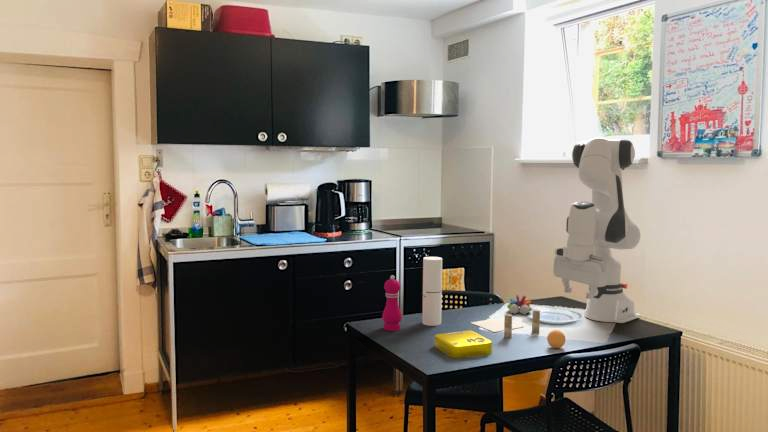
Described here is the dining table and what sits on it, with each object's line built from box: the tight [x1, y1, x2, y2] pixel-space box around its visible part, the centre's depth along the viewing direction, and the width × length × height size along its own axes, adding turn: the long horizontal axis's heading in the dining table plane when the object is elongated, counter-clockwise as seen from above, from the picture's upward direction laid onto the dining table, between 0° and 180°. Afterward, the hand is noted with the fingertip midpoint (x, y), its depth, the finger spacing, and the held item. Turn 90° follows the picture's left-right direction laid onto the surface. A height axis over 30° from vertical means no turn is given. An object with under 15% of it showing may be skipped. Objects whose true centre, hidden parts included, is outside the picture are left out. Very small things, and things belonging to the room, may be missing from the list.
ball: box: [546, 329, 567, 349], centre depth 225 cm, size 6×6×6 cm
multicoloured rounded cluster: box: [506, 294, 533, 315], centre depth 270 cm, size 8×10×7 cm
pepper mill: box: [381, 274, 403, 332], centre depth 245 cm, size 7×7×20 cm
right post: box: [531, 309, 541, 334], centre depth 242 cm, size 3×3×8 cm
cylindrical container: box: [421, 256, 443, 327], centre depth 252 cm, size 7×7×25 cm
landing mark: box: [470, 317, 524, 333], centre depth 252 cm, size 14×14×1 cm
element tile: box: [434, 330, 493, 359], centre depth 223 cm, size 15×15×5 cm
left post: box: [503, 313, 513, 339], centre depth 236 cm, size 3×3×8 cm
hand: (578, 295), depth 215 cm, fingers open, 8 cm apart
